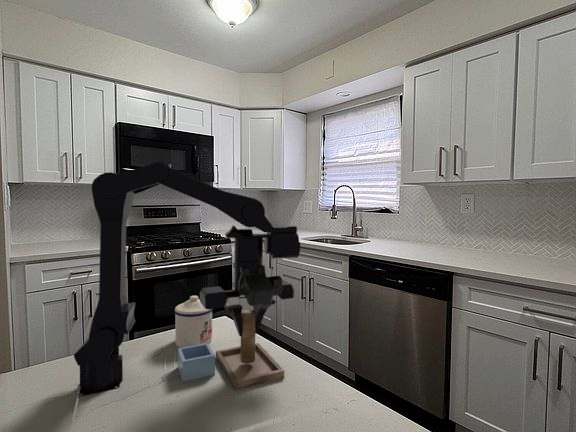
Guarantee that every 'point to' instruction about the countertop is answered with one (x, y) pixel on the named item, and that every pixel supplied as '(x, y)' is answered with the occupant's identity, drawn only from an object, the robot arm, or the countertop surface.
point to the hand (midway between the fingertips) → (247, 334)
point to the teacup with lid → (192, 323)
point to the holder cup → (196, 362)
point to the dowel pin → (248, 336)
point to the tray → (248, 367)
